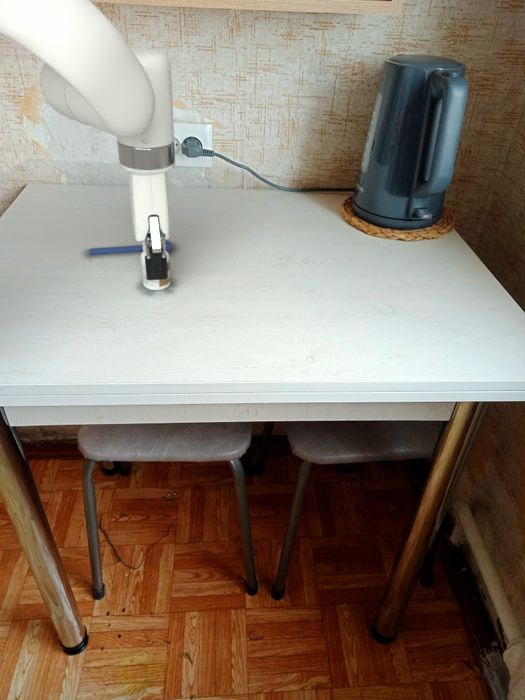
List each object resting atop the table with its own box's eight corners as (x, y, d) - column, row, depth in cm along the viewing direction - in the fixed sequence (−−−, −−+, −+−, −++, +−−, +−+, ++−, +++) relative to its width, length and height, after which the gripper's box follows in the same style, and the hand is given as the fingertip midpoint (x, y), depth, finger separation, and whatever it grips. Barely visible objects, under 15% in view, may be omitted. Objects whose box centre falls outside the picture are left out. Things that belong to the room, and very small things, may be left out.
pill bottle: (167, 292, 81) (165, 248, 76) (140, 290, 81) (135, 246, 76) (172, 278, 84) (170, 235, 79) (146, 275, 84) (142, 233, 79)
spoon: (89, 259, 88) (89, 254, 87) (89, 247, 91) (89, 242, 90) (172, 253, 91) (172, 248, 90) (169, 242, 94) (169, 237, 94)
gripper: (116, 134, 75) (128, 246, 86) (121, 177, 62) (134, 301, 74) (167, 134, 76) (173, 243, 88) (182, 175, 64) (186, 297, 75)
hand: (155, 269), depth 81 cm, fingers closed on pill bottle, 4 cm apart
